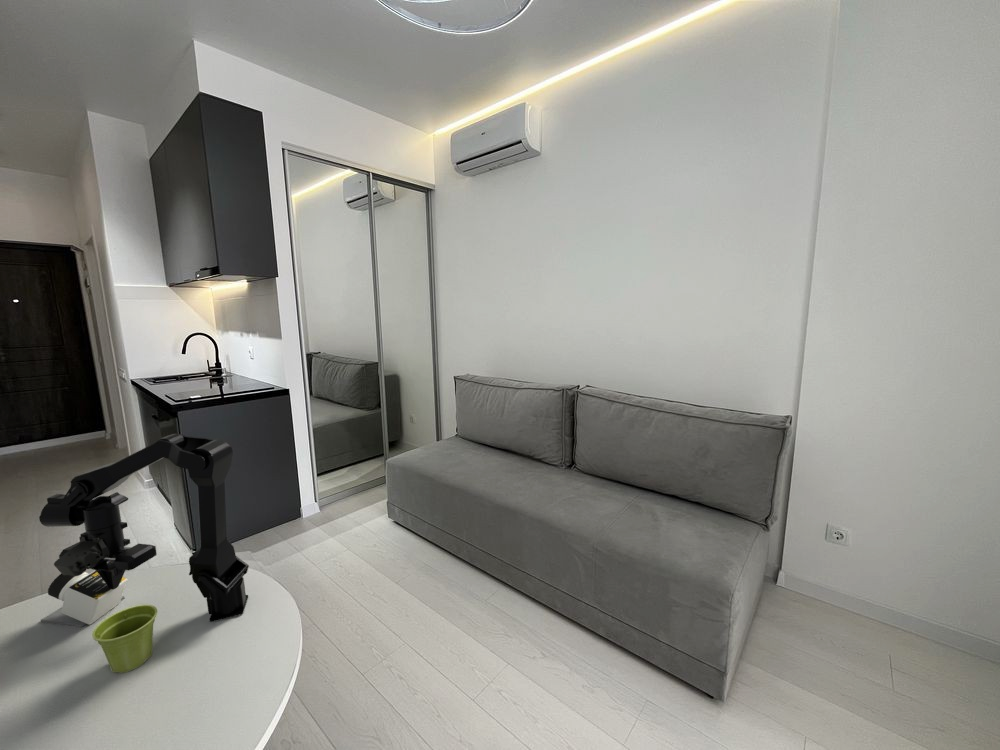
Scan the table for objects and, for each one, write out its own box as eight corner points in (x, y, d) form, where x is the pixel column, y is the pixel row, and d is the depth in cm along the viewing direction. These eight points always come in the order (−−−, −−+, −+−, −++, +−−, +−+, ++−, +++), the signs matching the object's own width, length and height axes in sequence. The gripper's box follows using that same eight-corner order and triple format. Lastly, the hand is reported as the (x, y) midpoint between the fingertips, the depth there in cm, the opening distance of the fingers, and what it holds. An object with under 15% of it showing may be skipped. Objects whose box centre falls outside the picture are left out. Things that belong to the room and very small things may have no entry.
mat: (124, 598, 99) (124, 596, 99) (82, 626, 90) (81, 624, 90) (86, 594, 101) (86, 592, 101) (41, 621, 92) (40, 619, 92)
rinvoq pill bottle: (98, 599, 89) (46, 577, 89) (89, 625, 90) (38, 604, 90) (128, 578, 96) (80, 557, 96) (120, 603, 97) (72, 582, 97)
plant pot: (160, 634, 88) (154, 597, 86) (166, 660, 81) (159, 621, 80) (99, 660, 81) (92, 621, 80) (100, 691, 75) (92, 649, 73)
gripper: (21, 540, 84) (35, 609, 86) (98, 548, 81) (111, 618, 84) (84, 514, 95) (95, 576, 97) (153, 519, 92) (163, 583, 94)
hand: (114, 588), depth 93 cm, fingers closed
